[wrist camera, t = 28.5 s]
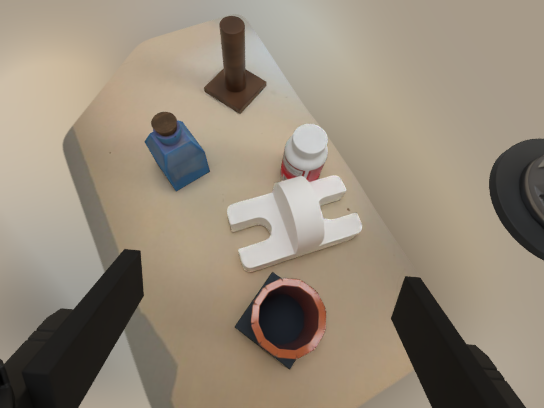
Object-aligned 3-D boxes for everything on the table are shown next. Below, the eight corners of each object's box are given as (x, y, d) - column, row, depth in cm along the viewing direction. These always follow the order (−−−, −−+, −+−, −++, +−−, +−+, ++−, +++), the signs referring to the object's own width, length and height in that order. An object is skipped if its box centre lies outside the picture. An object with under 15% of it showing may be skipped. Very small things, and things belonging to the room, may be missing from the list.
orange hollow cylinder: (320, 310, 43) (339, 307, 34) (288, 364, 40) (300, 375, 31) (273, 277, 44) (279, 264, 35) (239, 326, 42) (236, 326, 32)
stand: (266, 85, 58) (270, 22, 45) (240, 113, 55) (237, 54, 43) (231, 64, 59) (227, -3, 47) (204, 91, 56) (192, 27, 44)
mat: (324, 309, 44) (325, 309, 43) (289, 368, 41) (290, 369, 40) (272, 272, 45) (272, 271, 45) (234, 326, 42) (234, 326, 42)
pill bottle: (316, 160, 52) (332, 119, 42) (317, 193, 50) (335, 159, 40) (279, 158, 52) (287, 117, 42) (279, 191, 50) (287, 157, 40)
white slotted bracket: (226, 214, 48) (220, 185, 38) (332, 183, 51) (353, 149, 41) (244, 274, 45) (243, 259, 35) (356, 237, 48) (384, 214, 38)
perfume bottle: (189, 144, 52) (173, 94, 41) (209, 171, 50) (198, 127, 39) (156, 162, 50) (129, 116, 39) (176, 191, 49) (154, 151, 38)
